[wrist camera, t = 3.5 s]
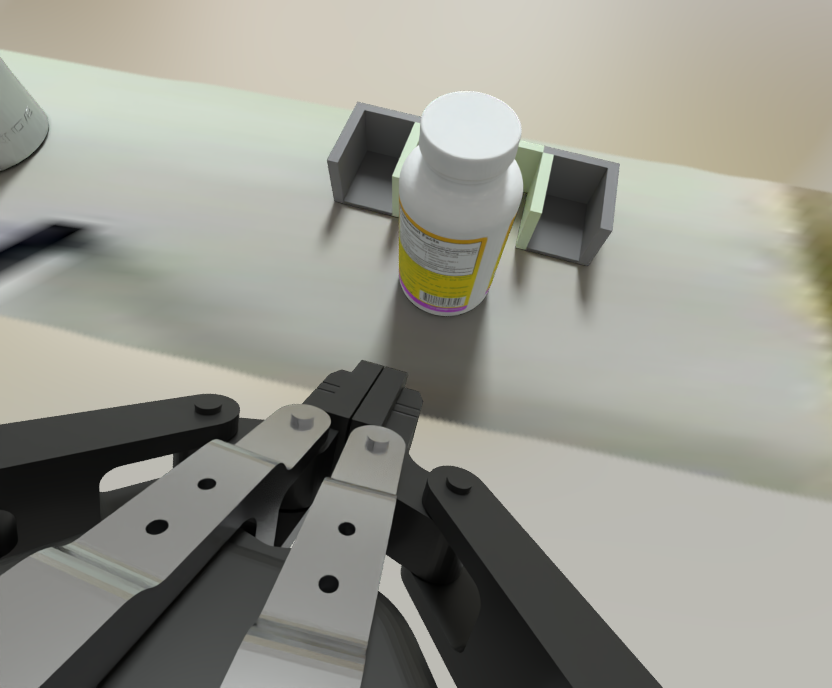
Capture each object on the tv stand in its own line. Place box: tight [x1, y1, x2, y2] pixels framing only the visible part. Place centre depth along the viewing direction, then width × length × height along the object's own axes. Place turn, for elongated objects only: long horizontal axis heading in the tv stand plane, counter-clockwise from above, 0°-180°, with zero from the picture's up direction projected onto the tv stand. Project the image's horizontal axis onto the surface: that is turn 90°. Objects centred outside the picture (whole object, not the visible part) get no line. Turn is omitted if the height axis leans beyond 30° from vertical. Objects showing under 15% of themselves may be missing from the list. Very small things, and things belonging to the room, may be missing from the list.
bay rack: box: [327, 102, 620, 266], centre depth 32 cm, size 20×6×4 cm, turn 74°
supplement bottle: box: [399, 91, 523, 316], centre depth 25 cm, size 7×7×13 cm
